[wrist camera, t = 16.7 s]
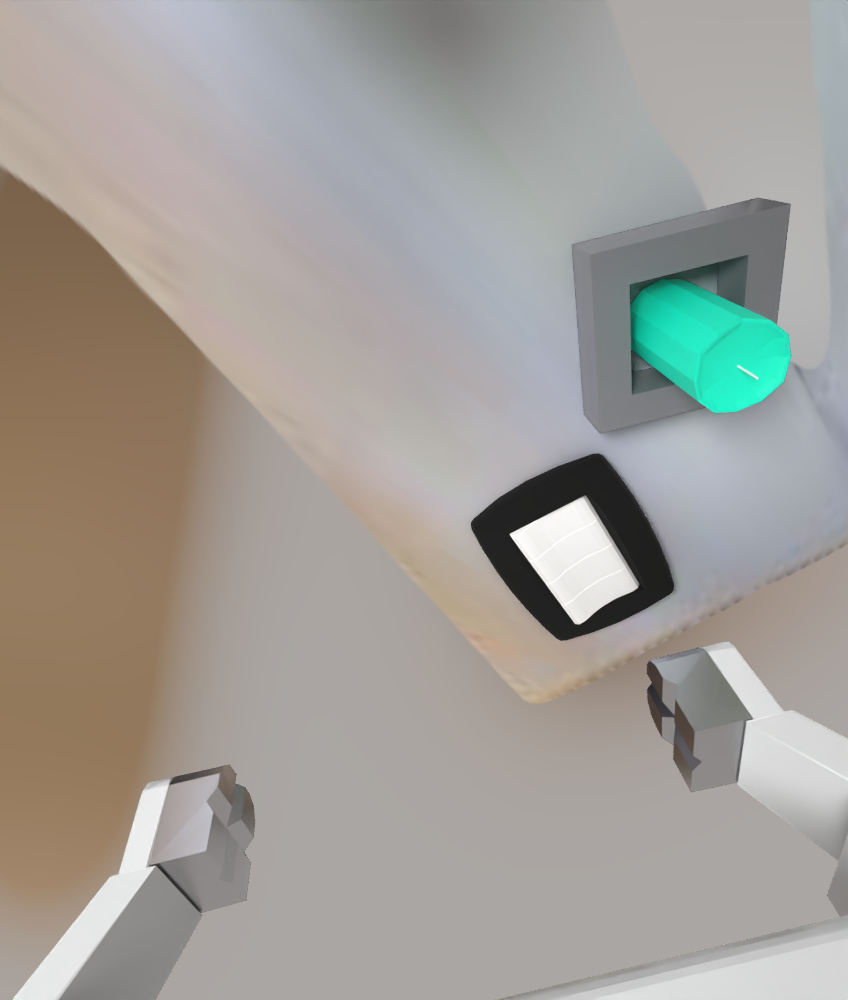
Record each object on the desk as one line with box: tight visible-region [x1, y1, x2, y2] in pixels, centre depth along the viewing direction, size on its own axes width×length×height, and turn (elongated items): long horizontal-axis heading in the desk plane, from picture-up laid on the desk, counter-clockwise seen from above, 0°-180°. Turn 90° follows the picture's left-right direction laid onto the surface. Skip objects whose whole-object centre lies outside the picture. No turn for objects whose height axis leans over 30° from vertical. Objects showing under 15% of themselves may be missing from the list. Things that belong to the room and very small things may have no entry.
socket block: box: [572, 198, 791, 434], centre depth 43 cm, size 13×13×4 cm
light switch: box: [471, 454, 674, 641], centre depth 55 cm, size 20×3×14 cm
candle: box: [630, 279, 791, 413], centre depth 40 cm, size 6×6×12 cm
